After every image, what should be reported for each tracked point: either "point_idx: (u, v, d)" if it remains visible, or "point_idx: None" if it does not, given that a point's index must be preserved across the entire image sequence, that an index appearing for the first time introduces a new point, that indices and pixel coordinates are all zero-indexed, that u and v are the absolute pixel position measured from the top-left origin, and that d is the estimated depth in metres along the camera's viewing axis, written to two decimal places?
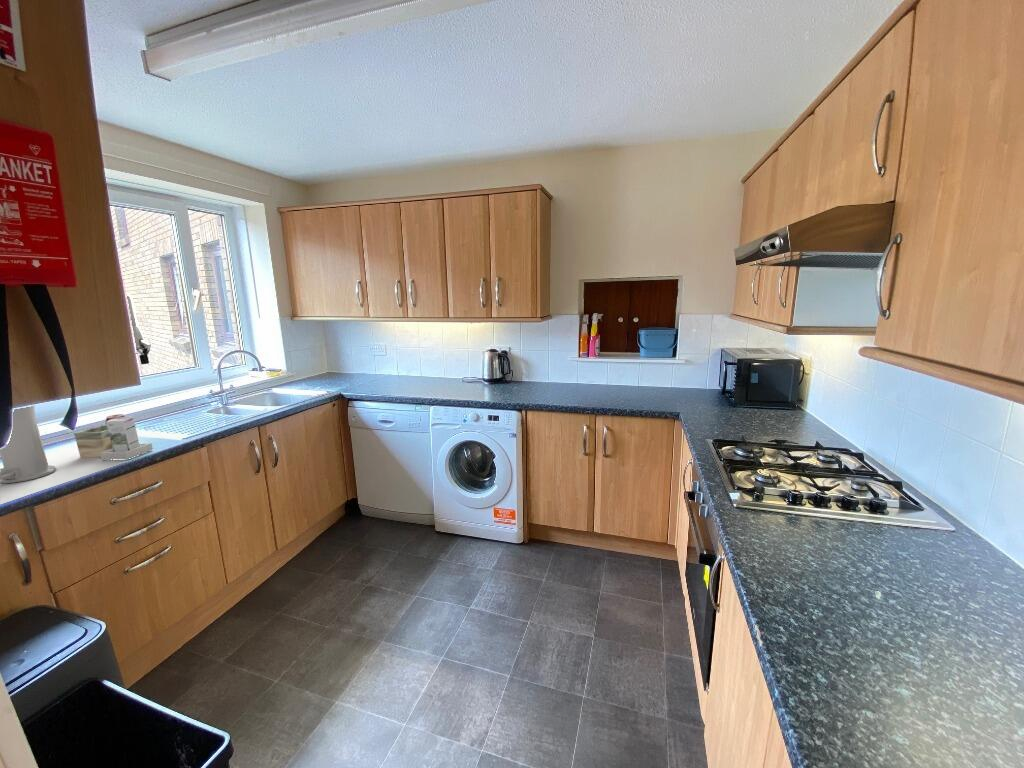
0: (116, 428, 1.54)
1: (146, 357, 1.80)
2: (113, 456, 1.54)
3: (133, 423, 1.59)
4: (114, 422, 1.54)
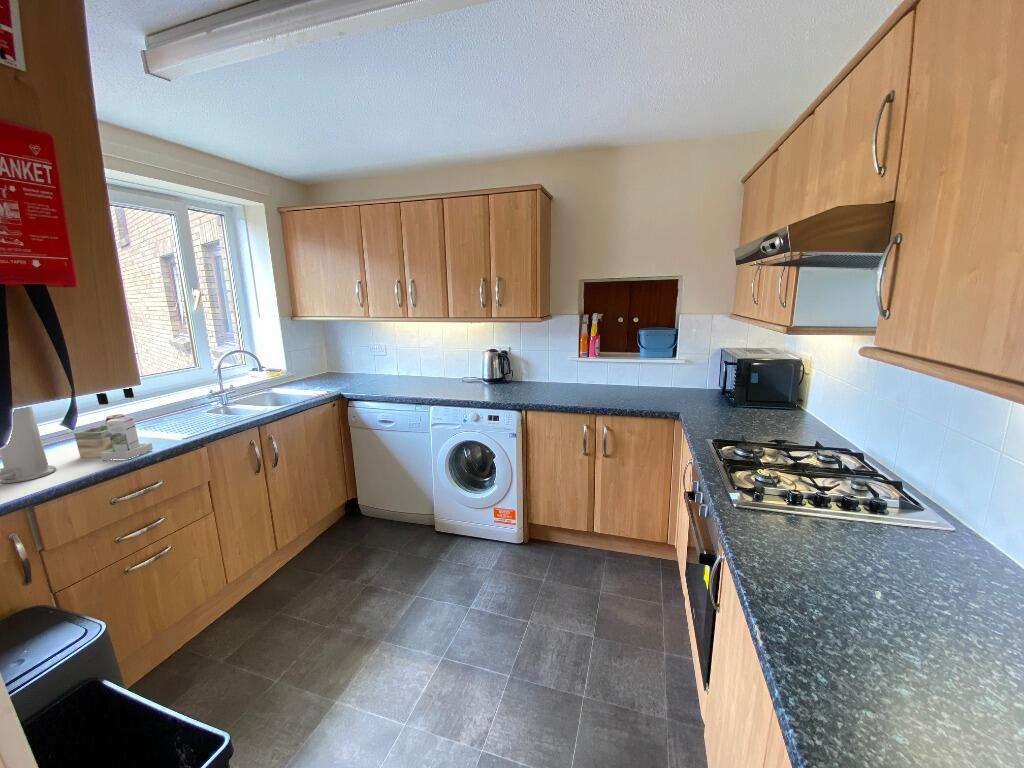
0: (116, 428, 1.54)
1: None
2: (113, 456, 1.54)
3: (133, 423, 1.59)
4: (114, 422, 1.54)
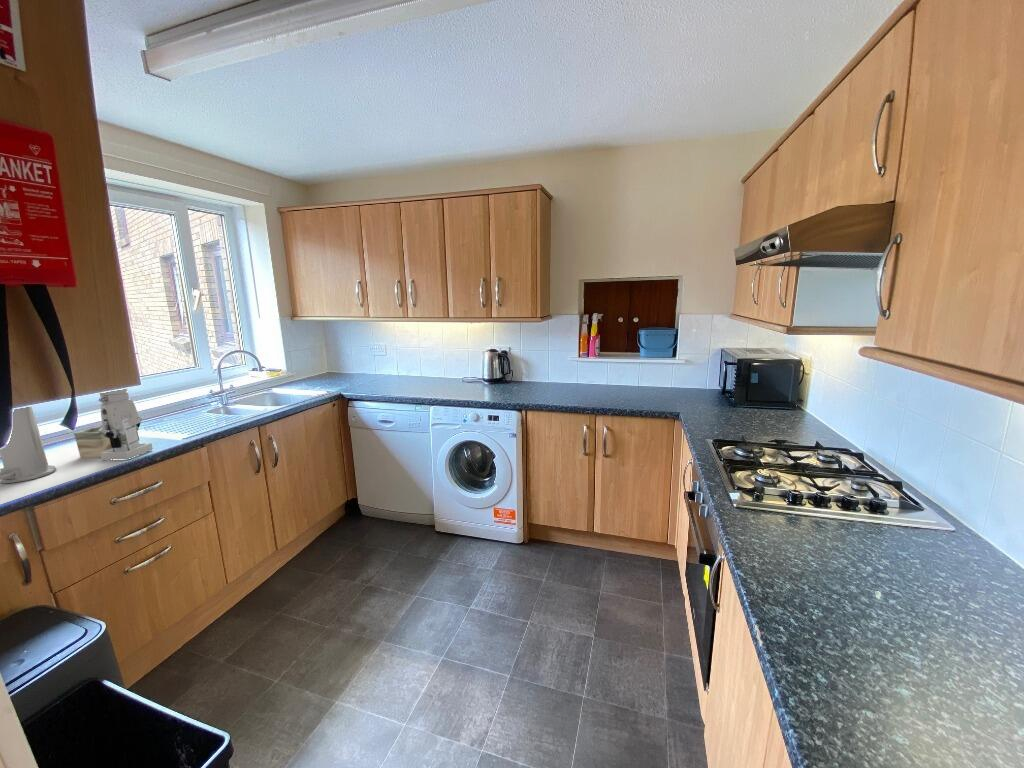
0: None
1: None
2: (113, 456, 1.54)
3: None
4: None
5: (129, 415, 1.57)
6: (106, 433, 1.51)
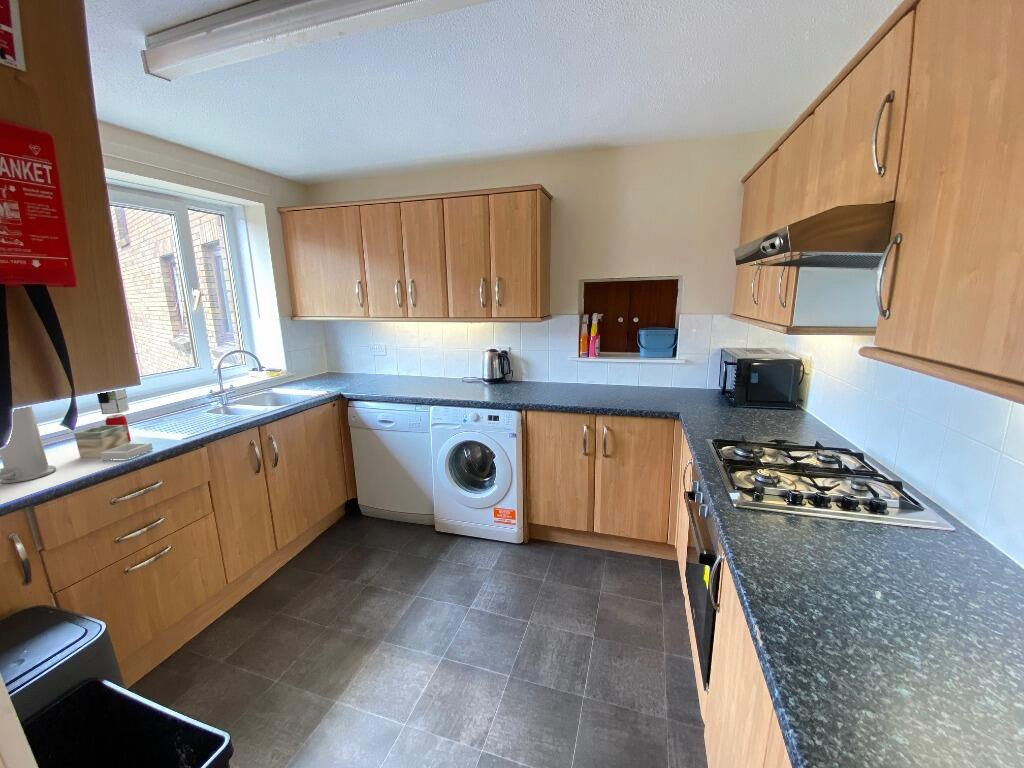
0: None
1: None
2: (113, 456, 1.54)
3: None
4: None
5: None
6: None
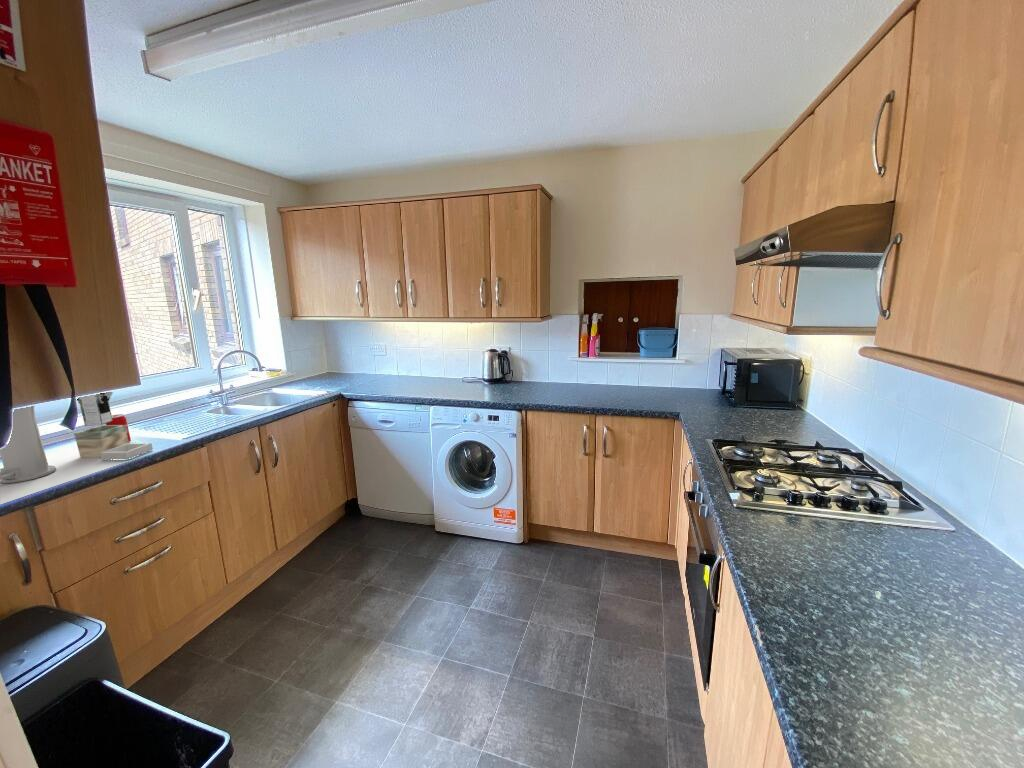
0: None
1: None
2: (113, 456, 1.54)
3: None
4: None
5: None
6: None
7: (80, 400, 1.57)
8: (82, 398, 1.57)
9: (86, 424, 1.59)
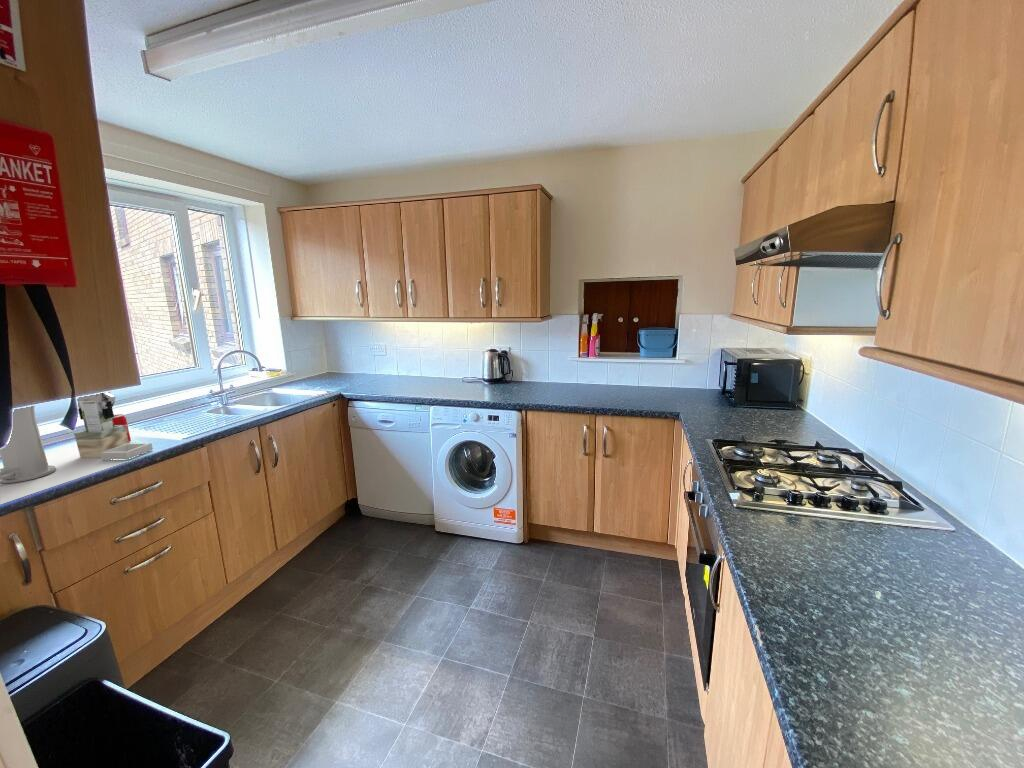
0: None
1: None
2: (113, 456, 1.54)
3: None
4: (102, 400, 1.60)
5: None
6: None
7: (83, 412, 1.57)
8: (85, 410, 1.57)
9: None
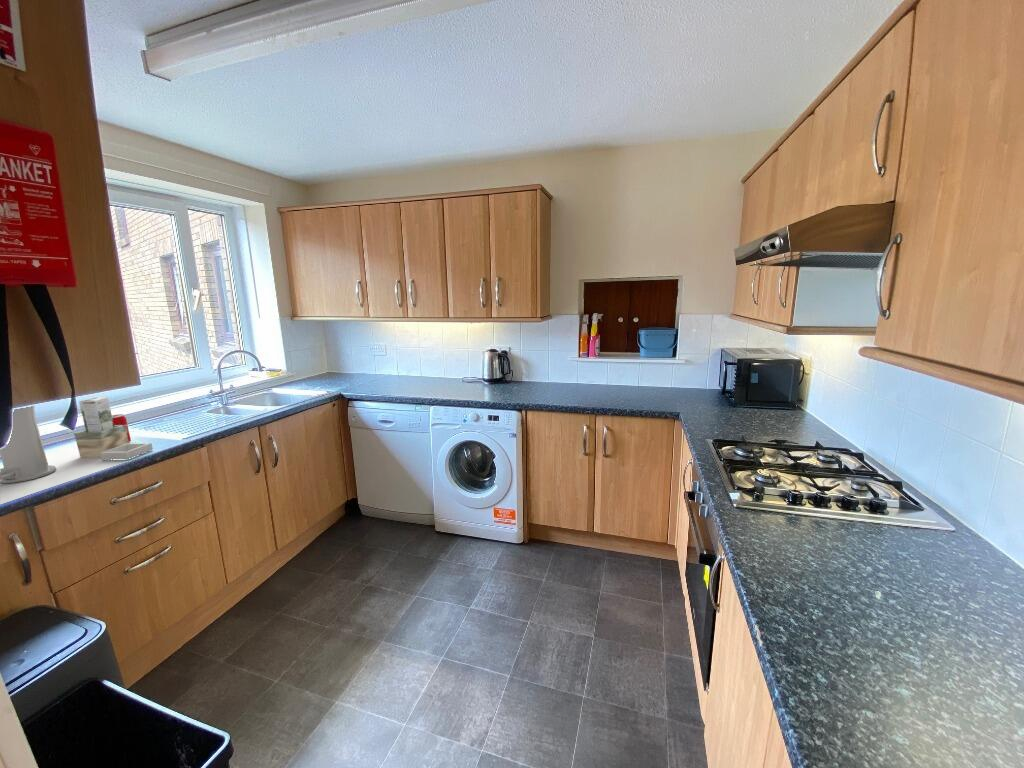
0: (103, 405, 1.60)
1: None
2: (113, 456, 1.54)
3: None
4: (102, 400, 1.60)
5: None
6: None
7: (83, 412, 1.57)
8: (84, 410, 1.57)
9: None
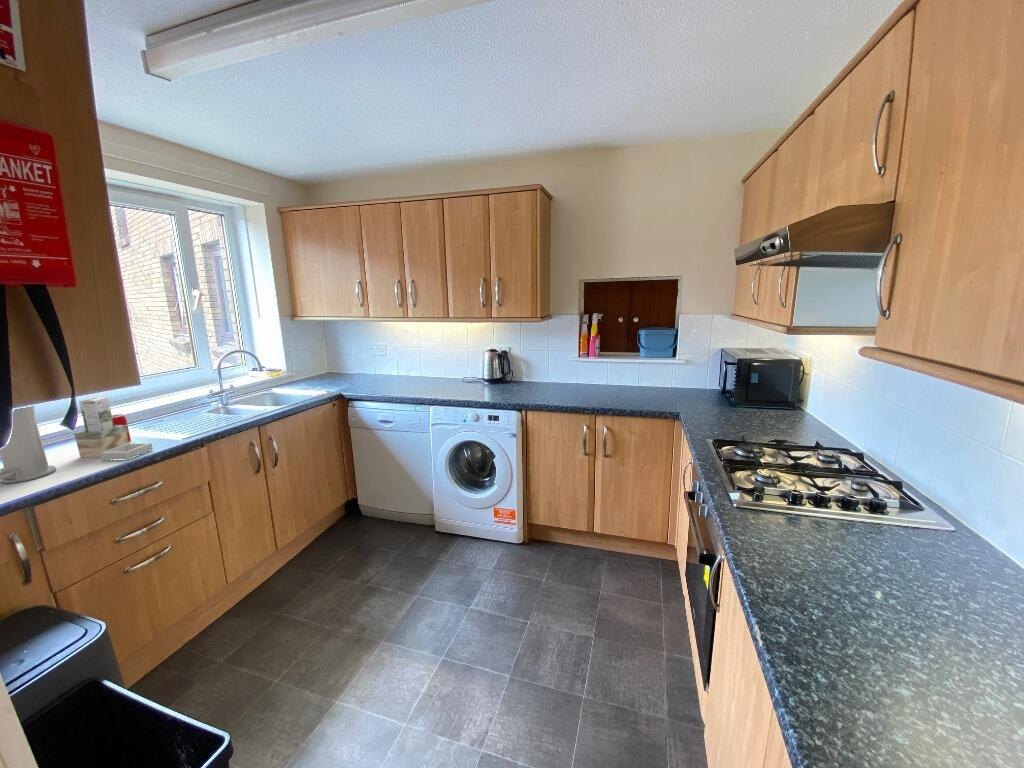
0: (103, 405, 1.60)
1: None
2: (113, 456, 1.54)
3: None
4: (102, 400, 1.60)
5: None
6: None
7: (83, 412, 1.57)
8: (84, 410, 1.57)
9: None
